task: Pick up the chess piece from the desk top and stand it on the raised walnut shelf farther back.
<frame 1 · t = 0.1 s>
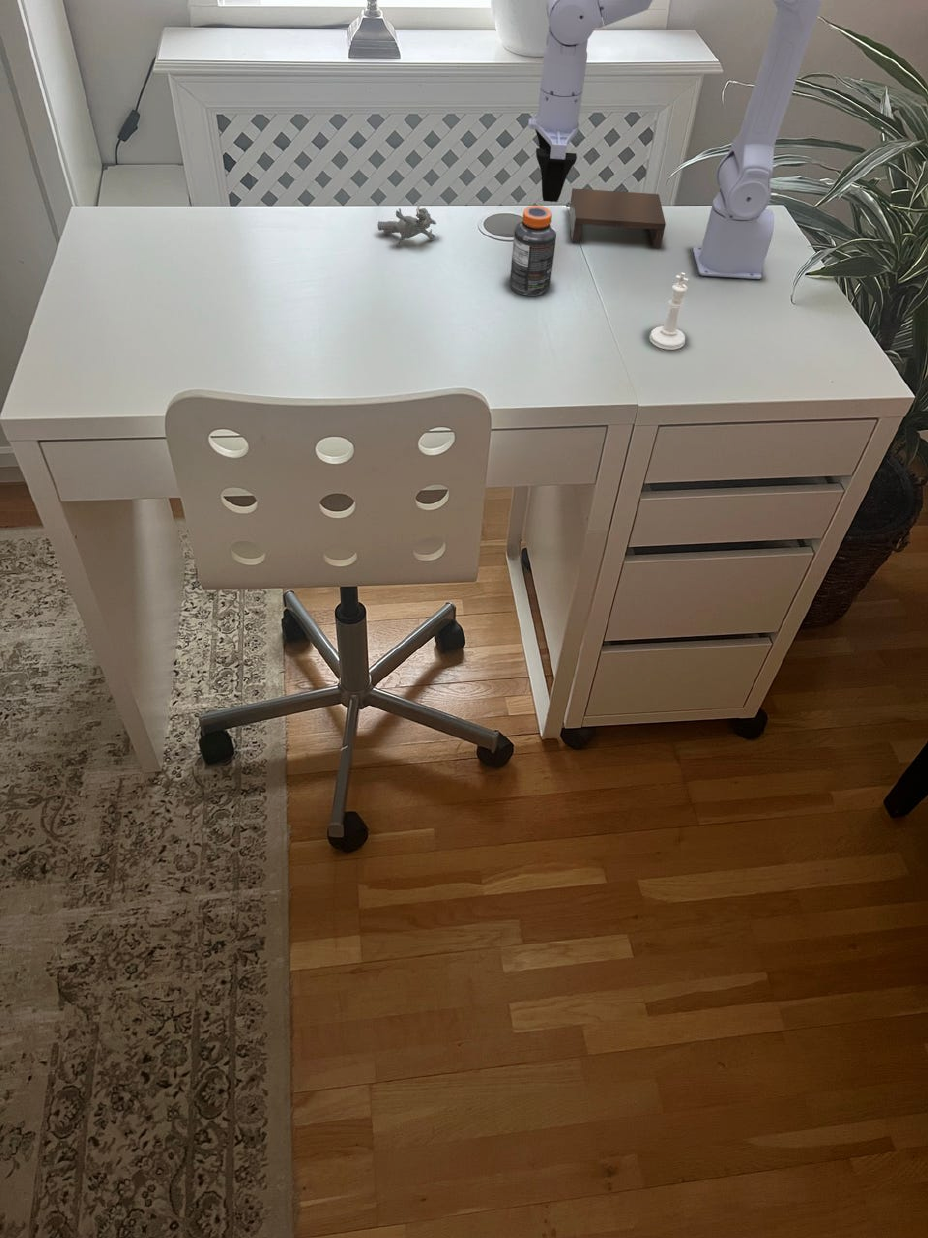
hand: (549, 188, 141), 10 cm above the table, tool pointing down, fingers open, 7 cm apart
walnut shelf: (613, 229, 155), on the table
grey creature figurine: (404, 245, 148), on the table
chess piece: (666, 341, 134), on the table
pill bottle: (529, 287, 142), on the table
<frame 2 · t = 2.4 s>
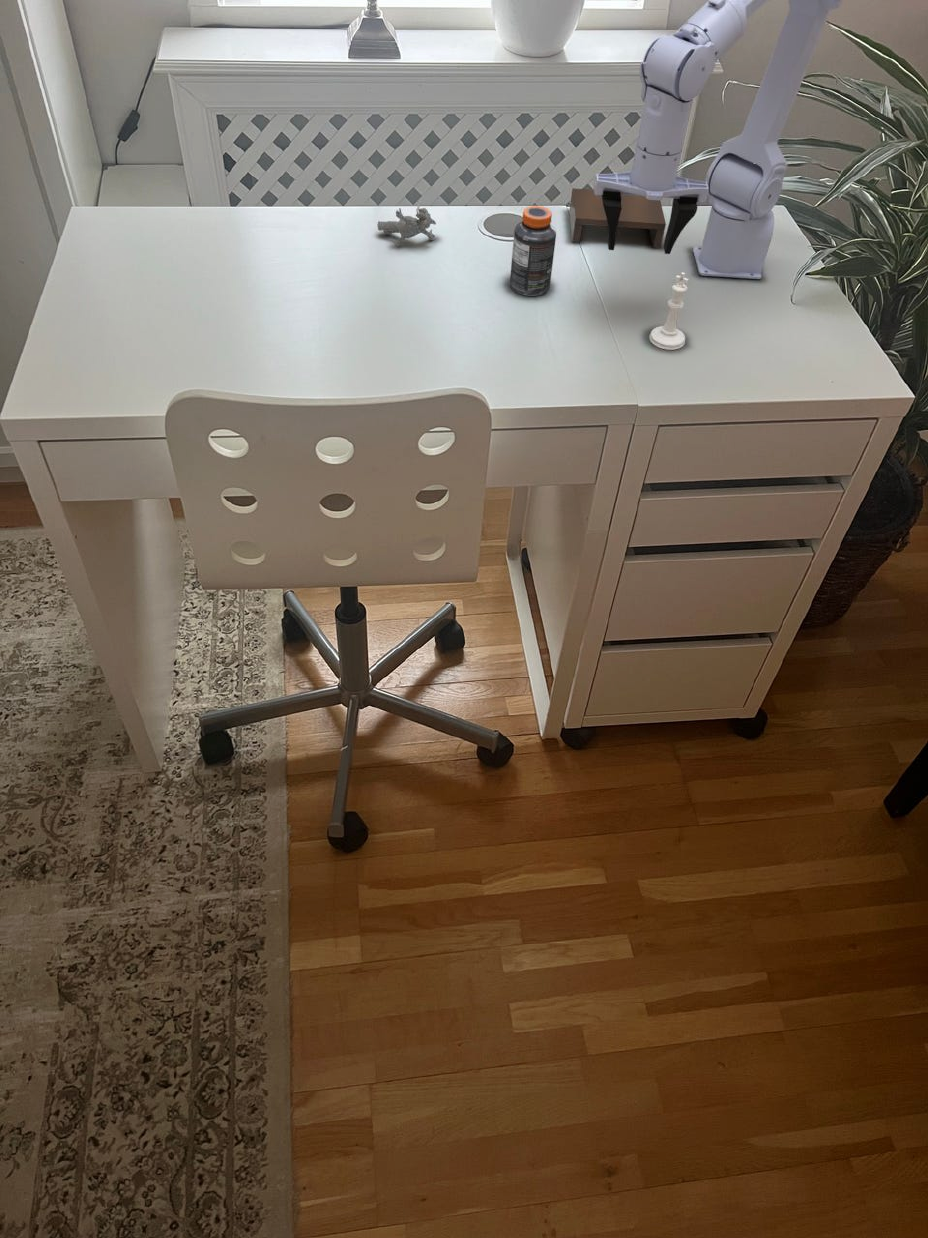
hand: (638, 248, 131), 10 cm above the table, tool pointing down, fingers open, 7 cm apart
nothing on the table moved.
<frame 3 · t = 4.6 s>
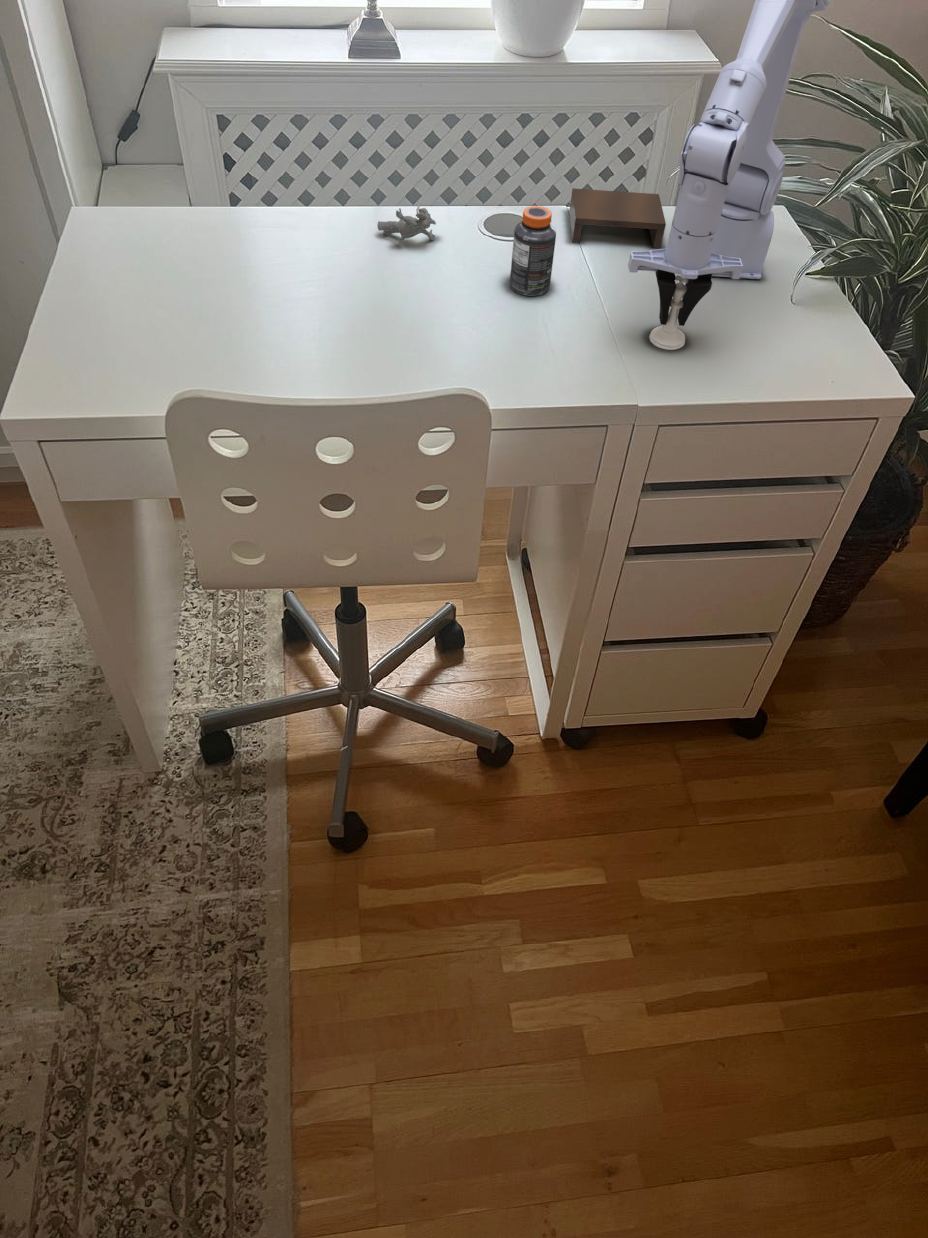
hand: (671, 321, 132), 3 cm above the table, tool pointing down, fingers closed on chess piece
chess piece: (666, 341, 134), on the table, touching gripper
everything else where it was.
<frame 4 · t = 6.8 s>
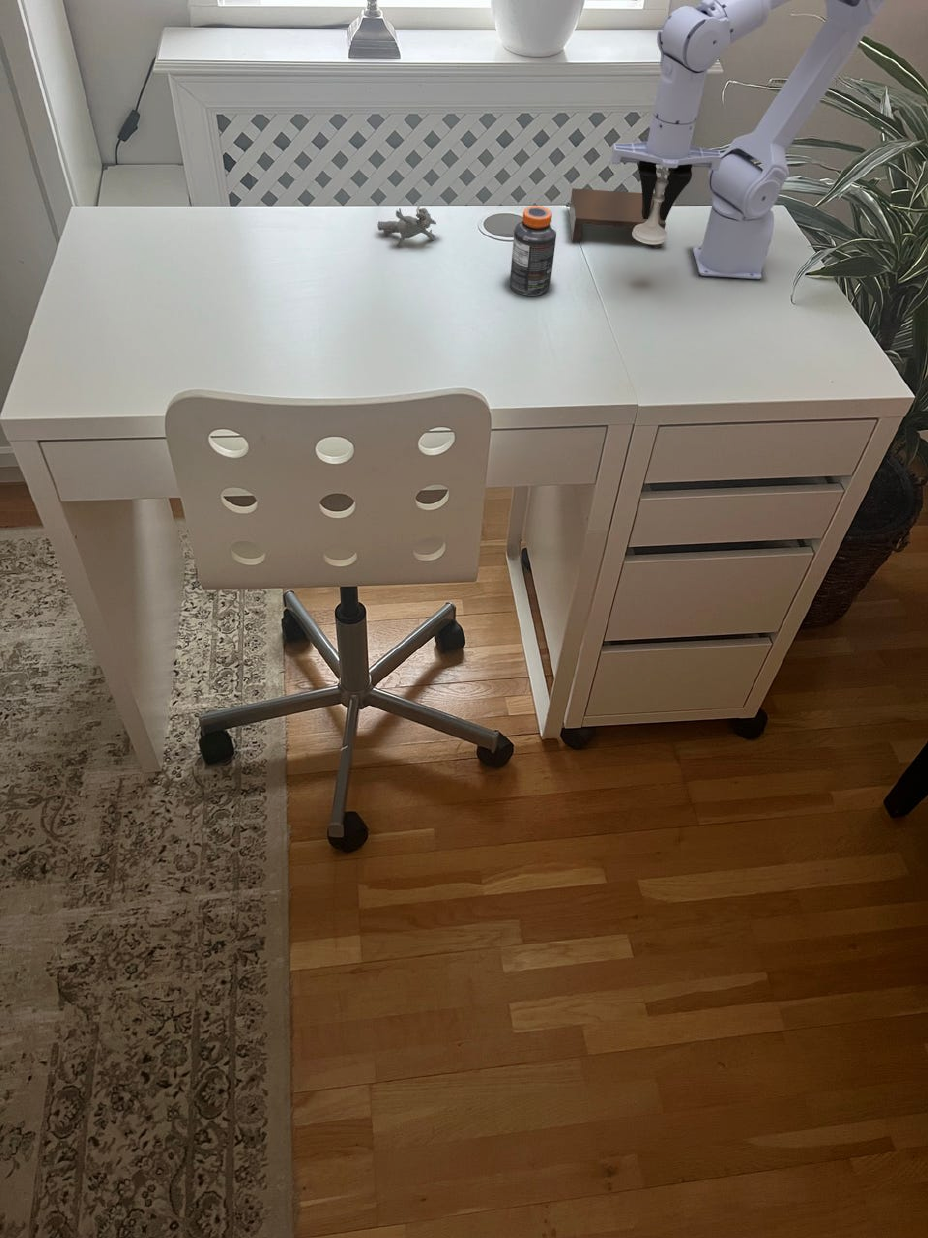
hand: (653, 216, 136), 10 cm above the table, tool pointing down, fingers closed on chess piece
chess piece: (648, 237, 138), point 7 cm above the table, touching gripper
everything else where it was.
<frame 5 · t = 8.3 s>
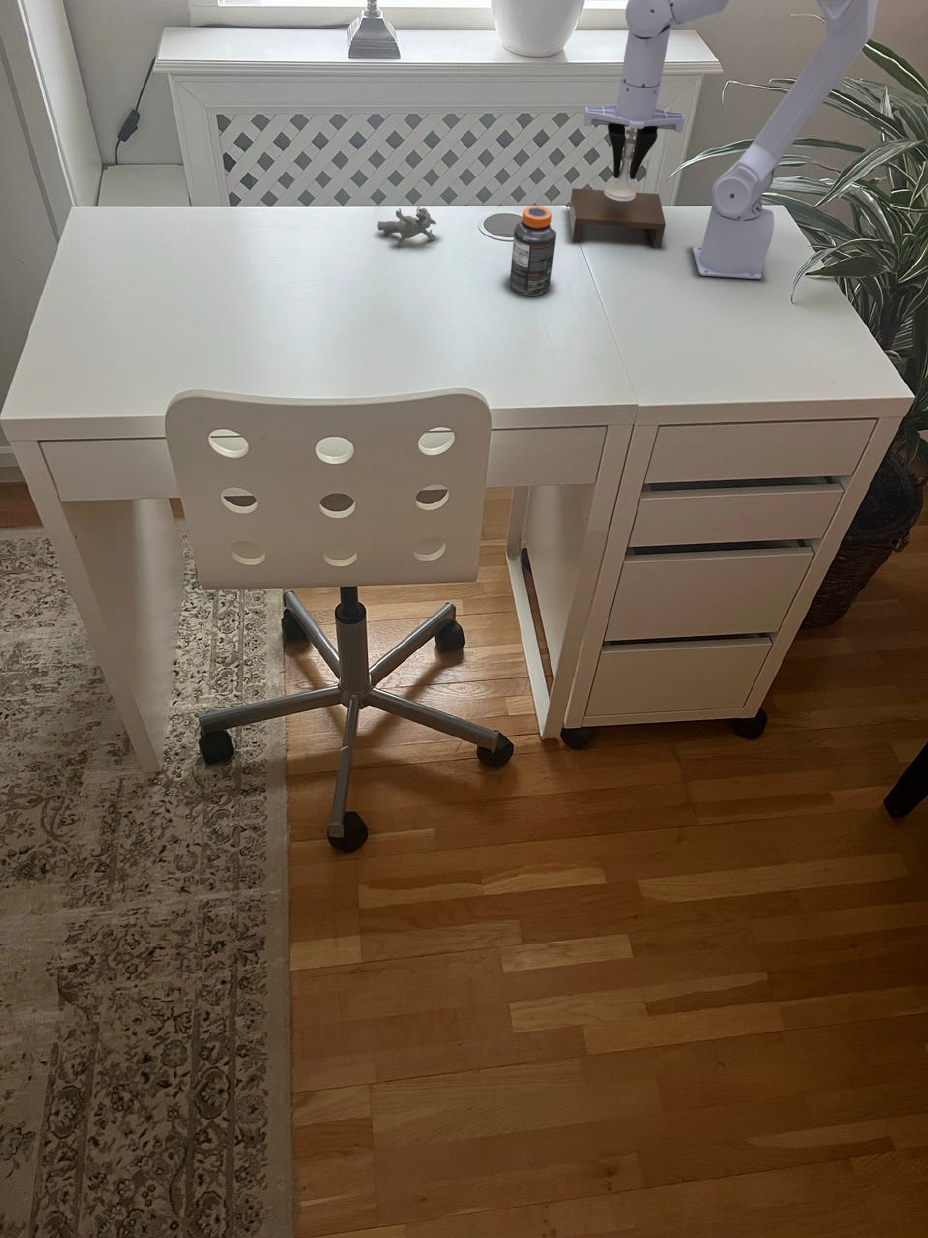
hand: (623, 175, 148), 9 cm above the table, tool pointing down, fingers closed on chess piece
chess piece: (619, 195, 150), point 6 cm above the table, touching gripper
everything else where it was.
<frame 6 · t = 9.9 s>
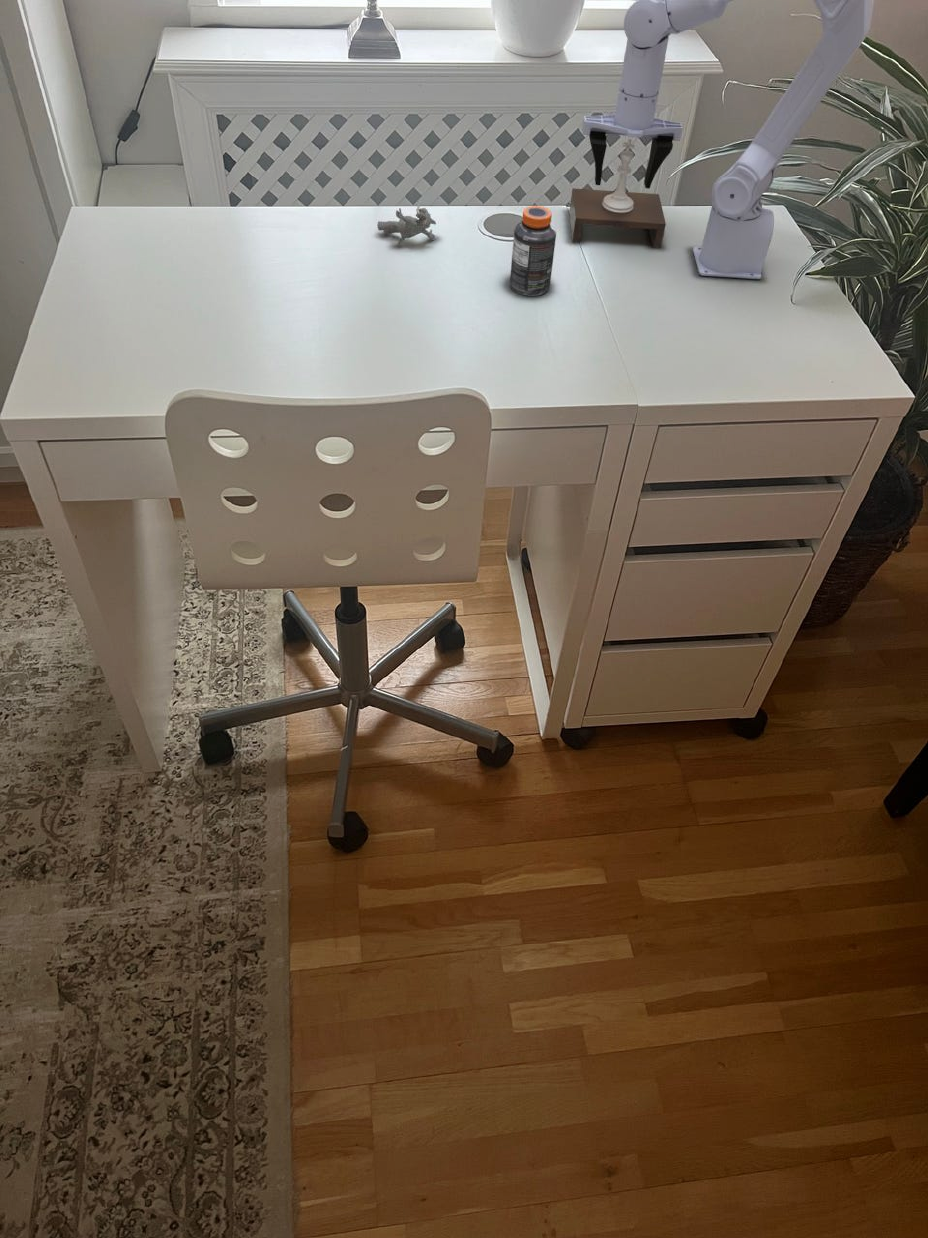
hand: (622, 183, 149), 7 cm above the table, tool pointing down, fingers open, 7 cm apart
chess piece: (617, 206, 152), point 4 cm above the table, touching walnut shelf
everything else where it was.
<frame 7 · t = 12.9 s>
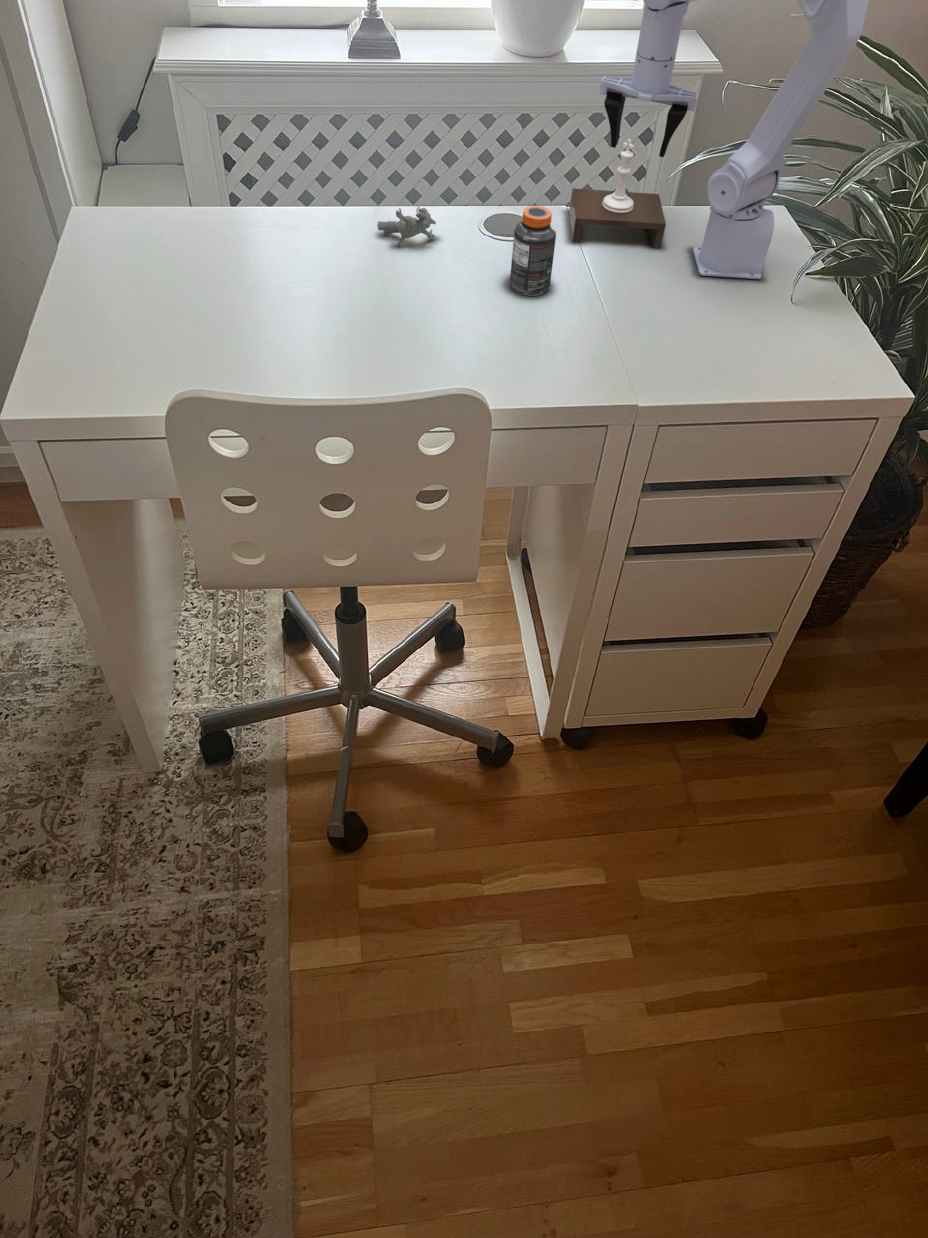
hand: (638, 149, 151), 10 cm above the table, tool pointing down, fingers open, 7 cm apart
nothing on the table moved.
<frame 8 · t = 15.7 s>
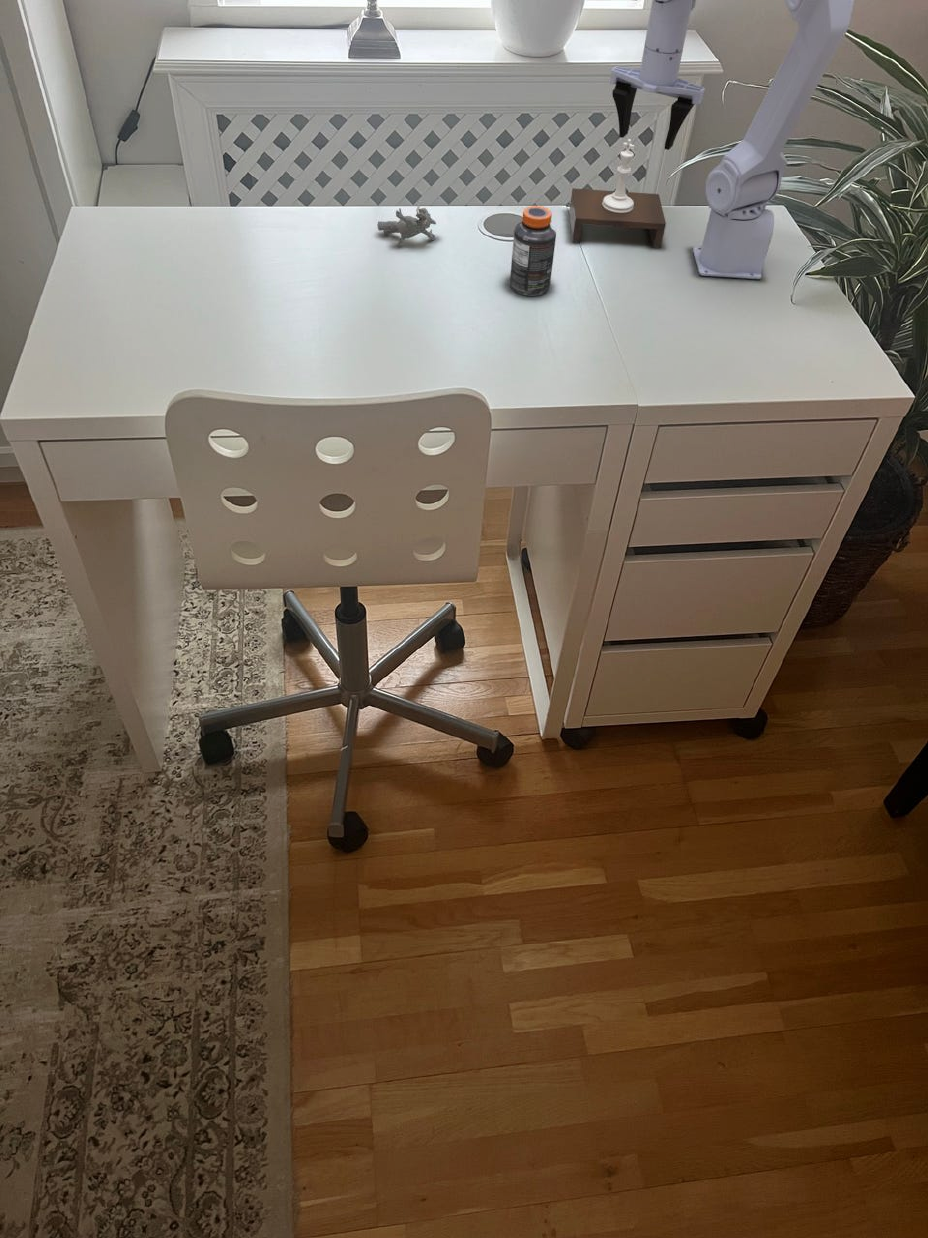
hand: (645, 141, 153), 10 cm above the table, tool pointing down, fingers open, 7 cm apart
nothing on the table moved.
at the end: chess piece inside the target area on the walnut shelf (0.1 cm from its centre), point 3.8 cm above the walnut shelf's base; chess piece tilted 0°; the gripper is holding nothing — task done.
